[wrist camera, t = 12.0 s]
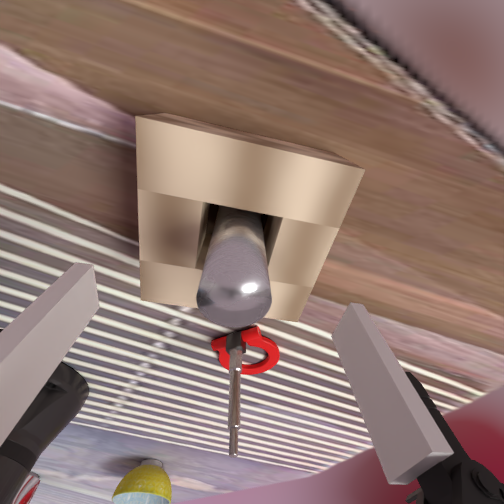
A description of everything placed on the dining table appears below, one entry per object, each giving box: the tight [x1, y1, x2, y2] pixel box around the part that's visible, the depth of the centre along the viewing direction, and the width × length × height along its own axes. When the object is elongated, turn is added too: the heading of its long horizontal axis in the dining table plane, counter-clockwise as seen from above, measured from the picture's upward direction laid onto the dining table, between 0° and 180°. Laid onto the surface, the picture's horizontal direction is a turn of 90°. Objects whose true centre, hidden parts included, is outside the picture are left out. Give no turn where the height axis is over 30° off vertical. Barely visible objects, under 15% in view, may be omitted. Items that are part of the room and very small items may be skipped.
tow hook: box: [211, 326, 280, 458], centre depth 29 cm, size 8×13×9 cm
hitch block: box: [135, 113, 365, 322], centre depth 20 cm, size 14×14×6 cm
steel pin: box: [196, 205, 272, 327], centre depth 18 cm, size 4×4×12 cm
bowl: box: [112, 459, 172, 504], centre depth 51 cm, size 11×12×6 cm
